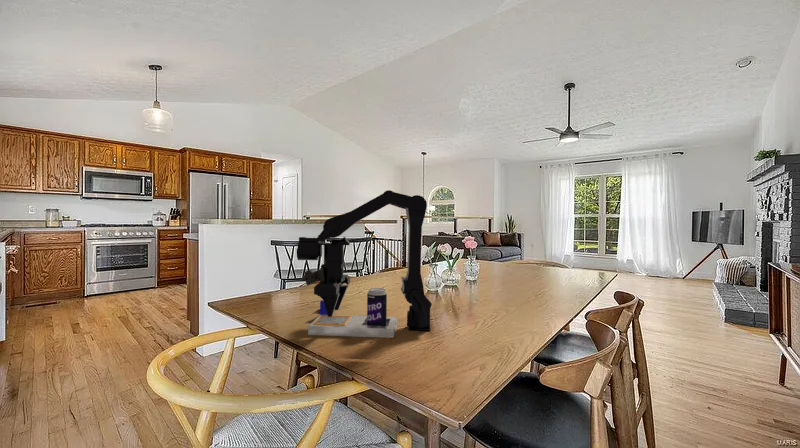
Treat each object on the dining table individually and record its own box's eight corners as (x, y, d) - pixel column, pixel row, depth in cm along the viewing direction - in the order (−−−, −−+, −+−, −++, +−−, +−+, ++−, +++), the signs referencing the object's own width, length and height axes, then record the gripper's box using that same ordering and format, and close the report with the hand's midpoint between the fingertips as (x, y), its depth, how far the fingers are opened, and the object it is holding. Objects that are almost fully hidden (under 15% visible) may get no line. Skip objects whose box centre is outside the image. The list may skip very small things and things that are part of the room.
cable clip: (322, 310, 125) (322, 293, 125) (334, 310, 125) (335, 293, 125) (315, 319, 113) (315, 301, 113) (329, 319, 113) (329, 301, 113)
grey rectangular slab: (396, 324, 107) (397, 315, 107) (393, 337, 95) (393, 327, 95) (320, 322, 109) (320, 313, 109) (308, 334, 97) (308, 324, 97)
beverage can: (364, 328, 103) (364, 288, 103) (382, 326, 105) (382, 287, 105) (370, 334, 98) (370, 292, 98) (389, 332, 100) (389, 290, 100)
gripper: (316, 256, 112) (316, 304, 112) (295, 263, 94) (294, 321, 94) (350, 257, 111) (350, 305, 111) (336, 264, 93) (335, 322, 93)
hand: (333, 313), depth 102 cm, fingers open, 7 cm apart
